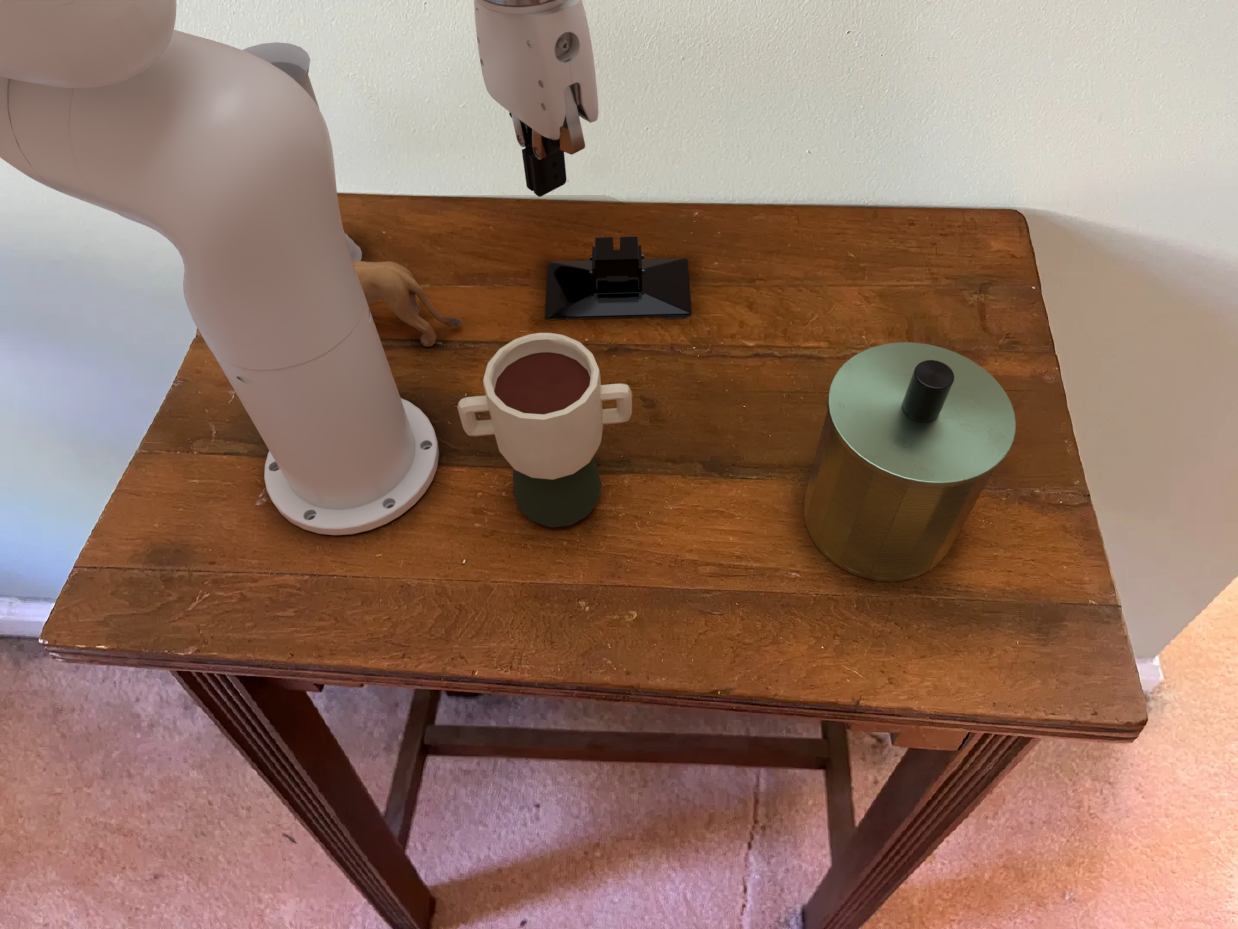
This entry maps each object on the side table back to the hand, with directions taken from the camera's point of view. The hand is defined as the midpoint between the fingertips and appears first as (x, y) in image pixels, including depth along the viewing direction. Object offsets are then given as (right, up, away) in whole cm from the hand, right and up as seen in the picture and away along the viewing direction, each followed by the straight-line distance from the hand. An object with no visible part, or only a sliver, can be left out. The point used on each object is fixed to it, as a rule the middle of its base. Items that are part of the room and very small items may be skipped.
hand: (547, 185), depth 76 cm
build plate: (+6, -9, -1) cm, 11 cm away
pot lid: (+24, -21, -24) cm, 41 cm away
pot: (+24, -28, -15) cm, 40 cm away
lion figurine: (-15, -13, -3) cm, 20 cm away
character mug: (+2, -27, -13) cm, 30 cm away
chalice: (-20, -6, +3) cm, 21 cm away
